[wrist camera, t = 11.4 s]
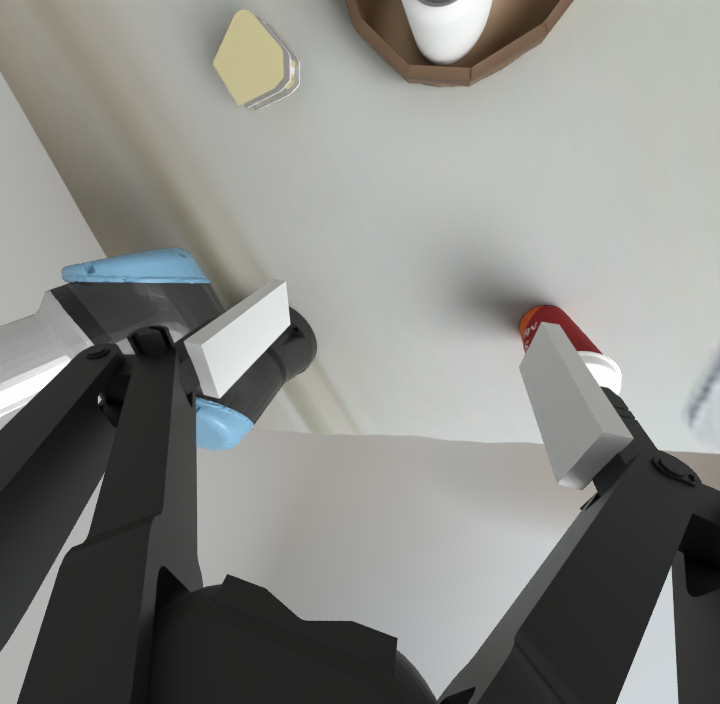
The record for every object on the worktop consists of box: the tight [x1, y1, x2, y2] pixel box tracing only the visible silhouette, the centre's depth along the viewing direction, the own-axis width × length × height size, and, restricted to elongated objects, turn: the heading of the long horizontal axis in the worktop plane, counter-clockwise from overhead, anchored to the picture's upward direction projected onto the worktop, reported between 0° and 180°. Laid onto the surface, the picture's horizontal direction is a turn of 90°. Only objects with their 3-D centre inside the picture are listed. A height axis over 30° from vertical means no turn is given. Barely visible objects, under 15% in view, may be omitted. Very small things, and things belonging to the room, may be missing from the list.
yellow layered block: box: [213, 10, 300, 110], centre depth 29 cm, size 10×9×6 cm
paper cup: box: [520, 305, 622, 395], centre depth 33 cm, size 8×8×14 cm
